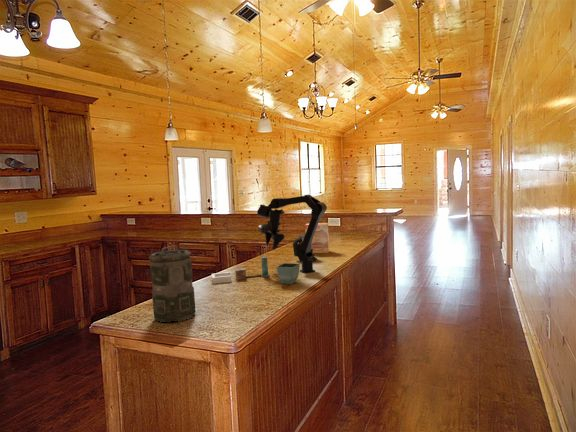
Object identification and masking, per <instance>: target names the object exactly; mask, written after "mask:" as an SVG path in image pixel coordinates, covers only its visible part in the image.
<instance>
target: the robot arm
mask: <svg viewBox="0 0 576 432" xmlns="http://www.w3.org/2000/svg"><path fill="white" fill-rule="evenodd" d="M302 203H305V204H306V205H307V206H308V207H309V208H310V209H311V211H310V214H311V215H310V216H311V218H310V221H309V223H308V224H309V226H308V228H307V231H306V232H305V234H304V235H305V237H304V239H303V242H301V243H299V242H298V245H297V248H296V255H297V256H296V257H297V258H298V260H299V262H301V269H299V273H300V272H301V273H304V274H308V273H312V272H313V273H314V272H316V270H315V269H314V266H313V265H314V264H313V262H314V261H313V260H312V259H314V257H316V256H315V253H312V252H311V241H312V239H313V236H314V233H315V231H316V228H317V225H318V223H320V220H321V218H322V217H323V216H324V215H325V213H326V212H327V208H328V206H327V205H326V203H325V202H323V201H320V200H319V199H317V198H315V197H313V196H312V195H311V194H304V195H299V196H295V197H276V198H272V199H271V201H270V203H269V204H268V205H265V204H260V205H259V207H258V209H257V216H258V217H261V218H265V219H269V220H267V223H263V224H260V225H258V231H259V232H260V233H261V234H264V238H265V244H266V245H269V243H270V241H271V239H272V250H276V248H278V246H279V244H280V243H281V242H282V241H283V240H285V235H284V233H282V232H280V229H279V228H280V226H281V224H282V223H281V222H280V221H281V215H285V211H284V210H283V208H284V207H287V206H290V205H296V204H302Z"/></svg>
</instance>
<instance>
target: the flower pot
mask: <svg viewBox="0 0 576 432" xmlns="http://www.w3.org/2000/svg"><path fill="white" fill-rule="evenodd" d="M276 272H277V275H278V279H279V281H280V282H281V284H282V285H292V284H294V283H296V282H297V280H298V278H299V275H300V263H290V262H289V263H287V262H286V263H284V262H283V263H281V264H279V265H277V266H276Z"/></svg>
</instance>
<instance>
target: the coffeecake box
mask: <svg viewBox="0 0 576 432" xmlns="http://www.w3.org/2000/svg"><path fill="white" fill-rule="evenodd" d="M308 226H309V223H306V224H304V228H305V230H304V231H305V233H306V231H307V228H308ZM329 236H330V235H329V222H319V223H318V225H317V228H316V231H315V233H314V236H313V239H312V246H313V254H329V252H330V239H329V238H330V237H329Z"/></svg>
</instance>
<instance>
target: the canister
mask: <svg viewBox="0 0 576 432" xmlns="http://www.w3.org/2000/svg"><path fill="white" fill-rule="evenodd" d="M172 248H175V249H172ZM168 249H171V250H168ZM191 255H192V254H191V251H189V249H186V248H178V245H176V244H174V245H170V246H165V247H163V248H161V250H159V251H154V253H152V254H151V255H149V256H148V260H149V263H150V264H149V270H150V271H149V272H150V281H151V286H152V293H151V294H152V295H151V296H152V297H151V298H152V299H151V300H152V306H153V307H152V310H153V318H154V320H155V321H156V320H157V321H156V322H158V321H160V322H159V323H161V322H167V323H172V322H171V321H175V322H178V321H181V322H183V321H182V320H184V321H186V319H187V320H189V318H190V319H191V318H192V316H194V315H195V314H196V311H197V310H196V300H195V299H196V297H195V287H194V286H193V277H194V276H193V265H192V264H193V263H192V260H191Z"/></svg>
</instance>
